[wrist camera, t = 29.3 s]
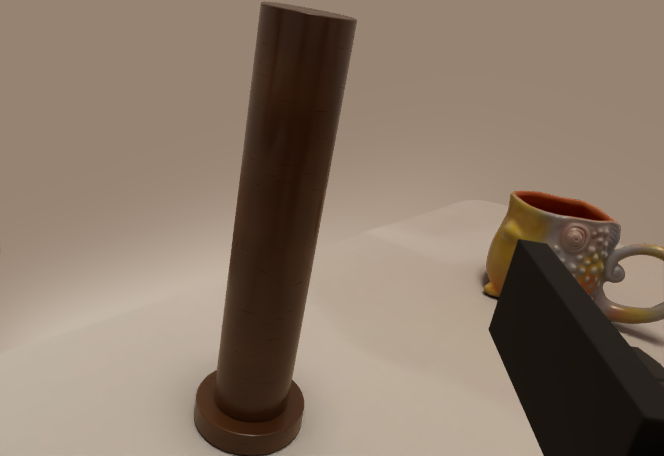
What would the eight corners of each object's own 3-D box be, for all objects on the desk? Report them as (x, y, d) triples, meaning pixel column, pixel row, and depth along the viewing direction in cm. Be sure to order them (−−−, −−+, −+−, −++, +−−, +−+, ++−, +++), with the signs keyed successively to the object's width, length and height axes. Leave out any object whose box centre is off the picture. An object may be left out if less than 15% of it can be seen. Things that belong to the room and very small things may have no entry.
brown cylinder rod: (201, 462, 21) (254, 5, 15) (188, 385, 25) (226, -8, 19) (314, 449, 23) (402, 30, 17) (285, 378, 27) (350, 14, 21)
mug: (464, 289, 38) (493, 195, 36) (498, 260, 44) (524, 177, 41) (660, 373, 33) (709, 270, 30) (670, 328, 38) (713, 238, 36)
